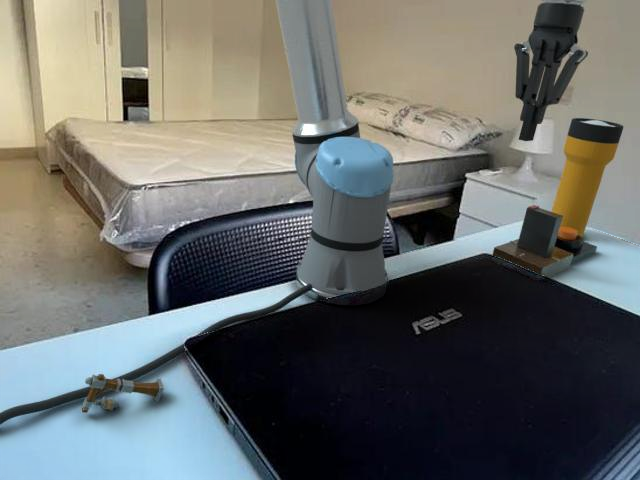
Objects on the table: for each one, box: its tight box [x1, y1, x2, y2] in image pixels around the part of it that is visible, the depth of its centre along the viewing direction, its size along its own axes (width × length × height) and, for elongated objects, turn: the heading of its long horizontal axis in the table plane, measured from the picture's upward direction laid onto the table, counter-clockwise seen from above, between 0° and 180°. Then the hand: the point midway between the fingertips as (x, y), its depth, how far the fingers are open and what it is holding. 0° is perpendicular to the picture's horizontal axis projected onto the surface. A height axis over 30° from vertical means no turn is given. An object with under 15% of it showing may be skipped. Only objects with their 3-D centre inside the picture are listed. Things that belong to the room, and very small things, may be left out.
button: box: [557, 227, 578, 240], centre depth 104 cm, size 4×4×2 cm
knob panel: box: [492, 238, 574, 279], centre depth 97 cm, size 12×10×3 cm
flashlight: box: [551, 117, 624, 238], centre depth 111 cm, size 10×26×10 cm
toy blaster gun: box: [81, 373, 165, 414], centre depth 53 cm, size 2×8×4 cm, turn 118°
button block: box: [554, 234, 598, 266], centre depth 105 cm, size 11×9×4 cm
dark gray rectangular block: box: [517, 204, 563, 257], centre depth 95 cm, size 6×2×8 cm, turn 39°
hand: (525, 139), depth 95 cm, fingers closed
